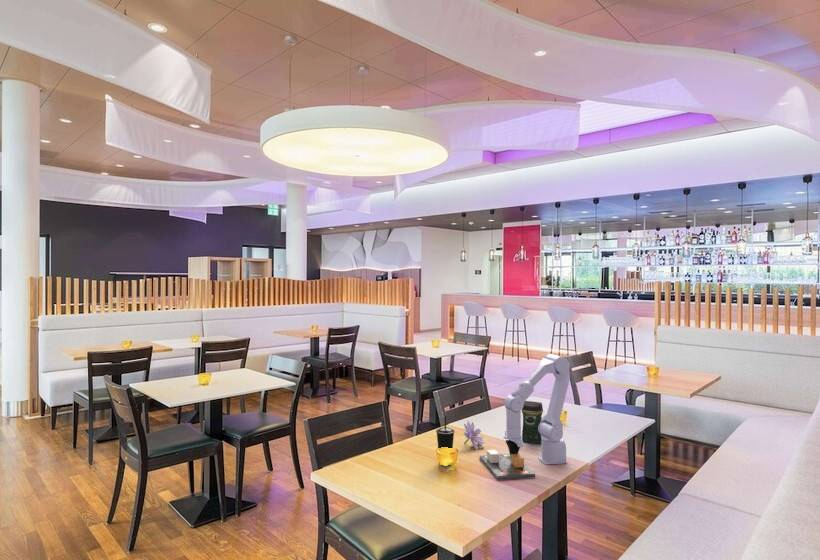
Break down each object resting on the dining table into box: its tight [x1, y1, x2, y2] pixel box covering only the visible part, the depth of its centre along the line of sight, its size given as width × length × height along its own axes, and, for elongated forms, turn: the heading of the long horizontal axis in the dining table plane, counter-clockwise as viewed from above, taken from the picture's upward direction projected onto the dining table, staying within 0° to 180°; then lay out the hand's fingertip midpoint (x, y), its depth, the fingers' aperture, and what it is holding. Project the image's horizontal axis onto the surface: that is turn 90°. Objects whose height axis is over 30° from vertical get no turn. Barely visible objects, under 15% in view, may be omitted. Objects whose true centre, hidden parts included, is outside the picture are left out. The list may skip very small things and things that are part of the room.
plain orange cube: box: [511, 453, 525, 468], centre depth 190 cm, size 4×5×4 cm
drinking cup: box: [435, 414, 455, 449], centre depth 196 cm, size 8×8×20 cm
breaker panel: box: [479, 453, 536, 481], centre depth 192 cm, size 15×22×2 cm
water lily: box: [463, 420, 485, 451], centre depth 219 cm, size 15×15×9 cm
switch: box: [486, 449, 500, 463], centre depth 195 cm, size 4×5×4 cm
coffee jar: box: [521, 400, 544, 444], centre depth 224 cm, size 10×8×19 cm
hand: (513, 458), depth 194 cm, fingers closed
